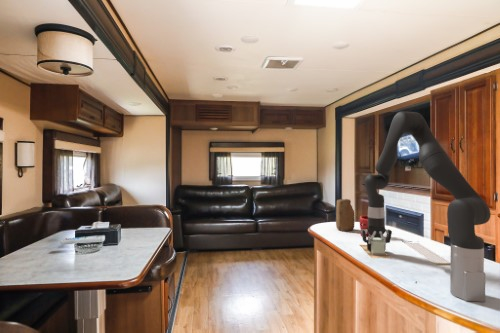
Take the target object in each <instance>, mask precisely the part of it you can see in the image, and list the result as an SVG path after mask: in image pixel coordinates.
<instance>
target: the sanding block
mask: <svg viewBox="0 0 500 333" xmlns="http://www.w3.org/2000/svg"><path fill="white" fill-rule="evenodd" d="M370 253H371V254H372V255H385V253H386V250H385V242H384V241H382V240H381V239H380V238H373V240H372V241H371V252H370Z"/></svg>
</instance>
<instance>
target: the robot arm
mask: <svg viewBox="0 0 500 333" xmlns="http://www.w3.org/2000/svg"><path fill="white" fill-rule="evenodd" d="M403 135H411V136H412V138H413V139H414V141H416V143H417V145H418V159H419V162H420V164H421V167H423V169H424V171H425V172H426V173H427V175H428V176H429V177H430V178H431V179H432V180H434V181H435V182H436V183H437V184H439V185H440V186H442V187H443V188H444V189H446V190H447V191H448V192H449V193H450V194H451V195H452V196H453V198H454V199H453V200H452V201H450V203H449V204H448V206H447V210H446V217H447V218H446V219H447V234H448V237H449V238H450V263H451V265H449V268H450V273H449V274H450V275H449V276H450V279H449V280H450V282H449V283H450V285H449V287H450V288H449V289H450V290H449V291H450V294H451V295H453V296H454V297H455V298H459V299H462V300H463V301H465V302H486V273H485V270H484V269H485V240H484V238H482V237H480V236H479V235H477V234H476V230H475V227H476V226H481V225H484V224H487V223H488V222H489V221H490V218H491V210H490V208H489V205H488V204H487V202H486V201H485V199H483V198H482V197H481V195H480V194H479V193H478V192H477V191H476V190H475V189H474V187H472V186H471V185H470V183H469V182H468V181H467V180H466V177H464V176H463V174H462V172H461V171H460V170H459V169H458V167H457V166H456V165H455V163H454V161H453V160H452V158H451V157H450V156H449V155H448V153H447V152H446V150H445V149H444V148H443V147H442V145H441V144H440V142H439V141H438V139H437V138H436V137H435V135H434V133H433V132H432V130H431V128H430V127H429V125H428V123H427V121H426V119H425V118H424V116H423V115H422V114H421V113H419V112H416V111H406V110H405V111H403V110H402V111H398V112H397V113H396V114H395V115H394V116H393V118H392V121H391V123H390V127H389V129H388V134H387V137H386V140H385V143H384V147H383V150H382V152H381V154H380V156H379V158H378V160H377V162H376V164H375V168H374V169H375V171H376V172H377V173H378V174H368V175H367V176H366V177H365V179H364V188H365V190H366V195H367V202H368V203H367V205H368V208H367V216H368V228H367V229H365V230H363V229H360V233H362V236H361V237H362V241H363V242H364V243H366V245H367V249H368V251H369V252H371V241H372V240H373V238H376V237H378V238H380V239H381V240H382V241H384V242H385V251H386V247H387V245H386V244H390V243H391V239H392V234H393V233H392V232H393V231H392V230H390V229H386V227H385V226H386V223H385V222H386V212H385V196H384V195H383V194H379V193H378V190H382V189H385V188H386V187H387V186H388V185H389V182H390V178H391V172H392V170H393V169H394V166H395V165H396V163H397V161H398V155H399V152H398V144H399V141H400V139H401V138H402V136H403ZM367 231H368V233H369V236H368V237H366V234H367ZM384 234H386V237H385V236H384Z"/></svg>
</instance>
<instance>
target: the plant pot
mask: <svg viewBox="0 0 500 333" xmlns="http://www.w3.org/2000/svg"><path fill="white" fill-rule="evenodd" d="M359 228H360V230H361V229H363V230H365V229H367V228H368V215H360V216H359ZM359 235H360V236H361V237H362V233H361V232H360V233H359ZM368 236H369V233H368V231H367V234H366V238H368ZM376 238H378V237H376Z"/></svg>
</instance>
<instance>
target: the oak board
mask: <svg viewBox="0 0 500 333" xmlns="http://www.w3.org/2000/svg"><path fill="white" fill-rule="evenodd" d="M359 247H360V248H361V249H362V250H363V251H364V252H365V253H366V255H368V256H369V257H370V258H372V259H373V258H374V259H375V258H376V259H392V257H391V256H390V255H389V254H387V252H385V255H372V254H371V253H370V252H369V251H368V249H367V244H359Z"/></svg>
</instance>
